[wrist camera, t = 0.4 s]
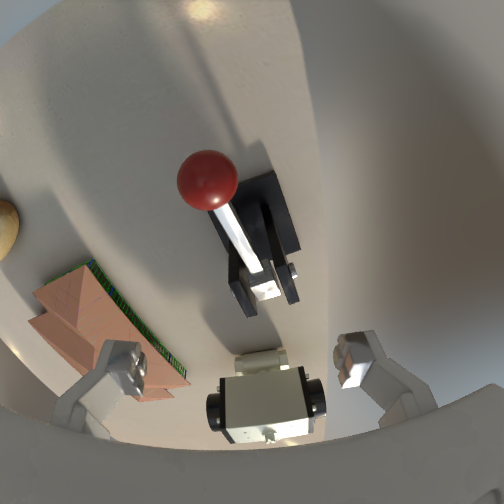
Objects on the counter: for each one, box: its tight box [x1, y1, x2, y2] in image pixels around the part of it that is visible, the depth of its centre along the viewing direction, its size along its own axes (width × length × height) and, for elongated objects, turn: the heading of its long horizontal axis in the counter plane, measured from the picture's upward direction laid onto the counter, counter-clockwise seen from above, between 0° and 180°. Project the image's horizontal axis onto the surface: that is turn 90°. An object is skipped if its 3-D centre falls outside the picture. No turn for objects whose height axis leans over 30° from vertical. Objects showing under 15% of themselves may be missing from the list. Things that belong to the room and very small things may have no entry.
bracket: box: [208, 171, 301, 318], centre depth 30 cm, size 11×9×14 cm
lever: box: [177, 150, 281, 302], centre depth 21 cm, size 15×4×4 cm, turn 20°
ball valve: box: [206, 349, 326, 444], centre depth 42 cm, size 18×8×18 cm, turn 99°
